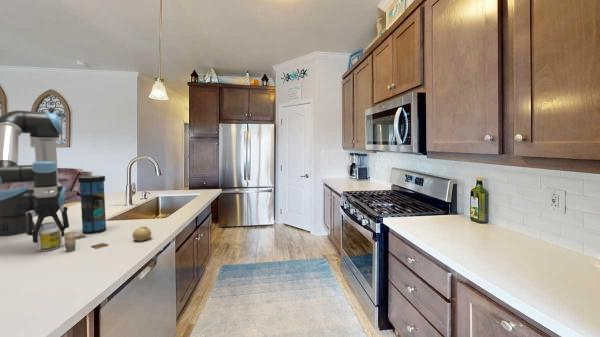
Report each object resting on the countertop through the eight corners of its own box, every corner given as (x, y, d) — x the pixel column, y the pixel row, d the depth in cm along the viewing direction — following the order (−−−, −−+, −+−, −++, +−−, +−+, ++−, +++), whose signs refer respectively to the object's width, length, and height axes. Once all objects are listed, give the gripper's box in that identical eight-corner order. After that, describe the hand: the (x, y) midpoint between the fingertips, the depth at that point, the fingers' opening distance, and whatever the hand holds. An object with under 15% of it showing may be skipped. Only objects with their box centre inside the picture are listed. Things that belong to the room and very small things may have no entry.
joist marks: (69, 238, 132) (69, 237, 132) (81, 235, 136) (81, 234, 136) (95, 248, 118) (95, 248, 118) (108, 245, 122) (108, 244, 122)
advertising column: (86, 236, 135) (83, 178, 133) (77, 232, 141) (74, 176, 138) (111, 230, 144) (108, 176, 142) (101, 227, 150) (99, 175, 148)
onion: (131, 243, 125) (131, 229, 125) (133, 238, 132) (133, 224, 132) (151, 241, 129) (150, 226, 128) (151, 236, 136) (151, 222, 135)
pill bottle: (47, 252, 114) (45, 226, 113) (35, 250, 115) (33, 225, 114) (63, 246, 120) (61, 222, 119) (52, 245, 121) (50, 221, 120)
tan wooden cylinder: (63, 250, 115) (62, 233, 115) (73, 248, 119) (72, 230, 118) (67, 252, 114) (66, 234, 113) (77, 249, 117) (76, 232, 116)
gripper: (17, 200, 105) (21, 256, 107) (77, 193, 122) (79, 241, 124) (11, 198, 109) (15, 252, 111) (70, 192, 126) (73, 238, 128)
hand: (49, 246), depth 117 cm, fingers closed on pill bottle, 6 cm apart
